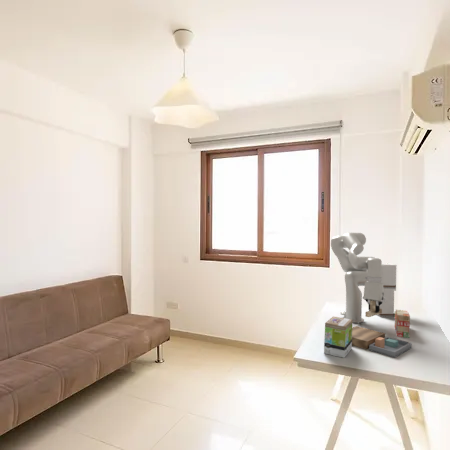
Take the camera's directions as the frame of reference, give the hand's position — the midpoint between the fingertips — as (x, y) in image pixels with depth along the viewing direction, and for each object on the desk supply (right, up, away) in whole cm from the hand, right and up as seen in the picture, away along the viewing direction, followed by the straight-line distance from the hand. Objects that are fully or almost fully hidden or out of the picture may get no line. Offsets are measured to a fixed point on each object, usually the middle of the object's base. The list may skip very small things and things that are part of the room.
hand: (373, 311), depth 192 cm
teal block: (-1, -9, -23) cm, 25 cm away
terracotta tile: (-10, -9, -26) cm, 29 cm away
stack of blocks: (+17, -12, +2) cm, 21 cm away
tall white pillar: (+24, -12, +38) cm, 47 cm away
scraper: (0, -2, 0) cm, 2 cm away
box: (-3, -12, -26) cm, 29 cm away
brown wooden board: (-13, -12, -15) cm, 23 cm away
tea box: (-31, -12, -30) cm, 45 cm away
